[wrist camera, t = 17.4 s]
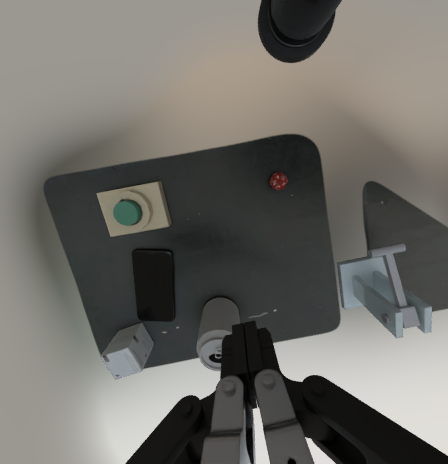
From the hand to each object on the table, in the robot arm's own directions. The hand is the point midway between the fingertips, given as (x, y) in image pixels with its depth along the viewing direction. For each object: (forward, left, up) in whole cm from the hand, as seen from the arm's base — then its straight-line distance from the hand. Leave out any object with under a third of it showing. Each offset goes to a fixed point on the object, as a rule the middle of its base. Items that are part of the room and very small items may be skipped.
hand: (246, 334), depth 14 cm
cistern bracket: (-8, +27, -29) cm, 40 cm away
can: (+16, +10, -29) cm, 35 cm away
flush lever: (-10, +24, -21) cm, 33 cm away
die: (-11, +1, -29) cm, 31 cm away
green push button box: (+9, -16, -29) cm, 34 cm away
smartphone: (+20, -4, -29) cm, 35 cm away
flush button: (+9, -16, -25) cm, 31 cm away
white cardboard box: (+33, 0, -29) cm, 44 cm away
